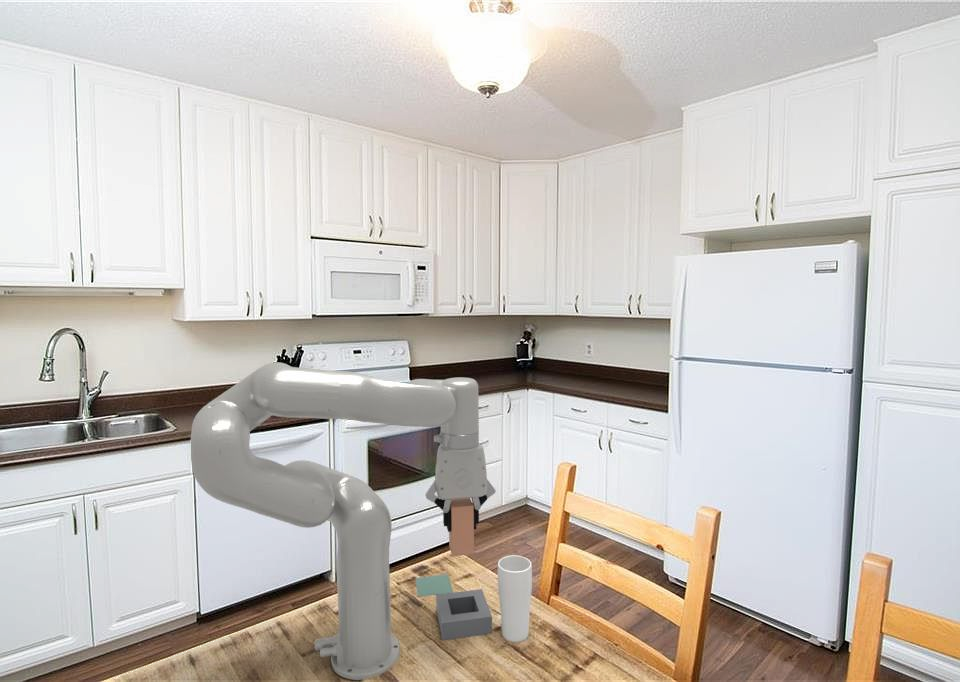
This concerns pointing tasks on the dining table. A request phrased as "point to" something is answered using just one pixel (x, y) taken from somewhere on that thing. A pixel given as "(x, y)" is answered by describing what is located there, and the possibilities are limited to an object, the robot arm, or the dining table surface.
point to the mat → (433, 585)
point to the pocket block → (463, 614)
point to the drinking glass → (515, 596)
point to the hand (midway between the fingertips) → (461, 526)
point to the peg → (461, 527)
